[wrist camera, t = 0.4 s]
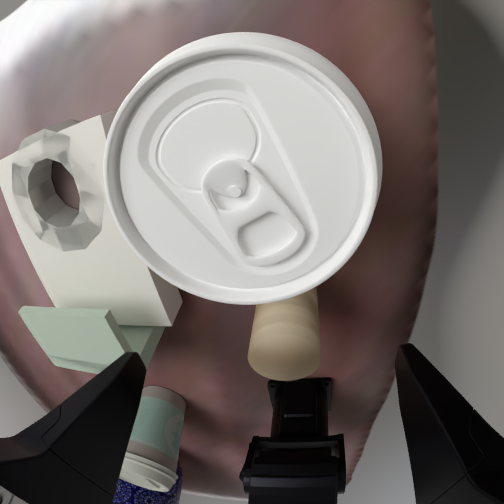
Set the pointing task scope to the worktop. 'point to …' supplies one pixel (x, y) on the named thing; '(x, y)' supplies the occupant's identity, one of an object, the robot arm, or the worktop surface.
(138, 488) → the planter
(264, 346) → the peg
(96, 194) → the socket
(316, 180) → the beverage can
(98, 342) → the mint green folder
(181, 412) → the coffee cup
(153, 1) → the worktop surface
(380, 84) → the worktop surface
